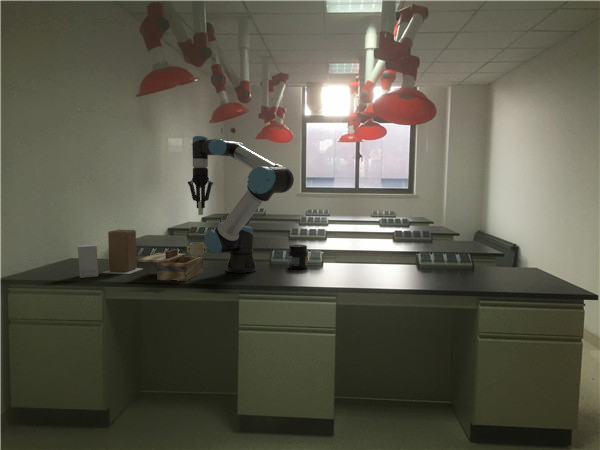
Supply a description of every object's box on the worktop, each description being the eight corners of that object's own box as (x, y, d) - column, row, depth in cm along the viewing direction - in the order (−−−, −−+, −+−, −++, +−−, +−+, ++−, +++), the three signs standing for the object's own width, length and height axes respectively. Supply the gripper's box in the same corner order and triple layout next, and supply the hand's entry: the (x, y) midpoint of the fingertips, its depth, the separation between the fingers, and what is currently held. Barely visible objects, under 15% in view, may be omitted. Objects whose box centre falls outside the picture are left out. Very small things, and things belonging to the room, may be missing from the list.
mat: (143, 269, 235) (143, 268, 235) (129, 274, 221) (129, 273, 221) (118, 268, 237) (118, 267, 237) (102, 273, 223) (102, 272, 223)
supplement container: (309, 267, 246) (309, 244, 245) (305, 270, 236) (305, 247, 235) (290, 265, 249) (290, 244, 248) (285, 269, 239) (285, 246, 238)
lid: (186, 255, 228) (186, 247, 228) (167, 262, 207) (167, 254, 207) (158, 254, 230) (158, 246, 230) (137, 261, 210) (137, 252, 209)
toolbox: (202, 272, 227) (202, 256, 226) (186, 281, 207) (186, 263, 206) (175, 271, 229) (175, 255, 229) (156, 280, 209) (156, 262, 208)
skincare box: (98, 274, 220) (97, 243, 219) (98, 276, 215) (97, 245, 214) (78, 275, 217) (77, 244, 215) (78, 278, 211) (77, 246, 210)
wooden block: (137, 268, 234) (136, 229, 232) (127, 272, 224) (126, 231, 222) (118, 268, 235) (118, 229, 233) (108, 271, 225) (107, 231, 223)
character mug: (209, 266, 244) (209, 242, 243) (205, 269, 237) (205, 244, 236) (189, 266, 245) (188, 242, 244) (184, 268, 238) (184, 243, 237)
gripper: (215, 168, 231) (215, 214, 233) (190, 167, 233) (191, 214, 235) (210, 167, 224) (210, 215, 226) (184, 167, 226) (185, 215, 228)
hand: (200, 214), depth 231 cm, fingers closed
